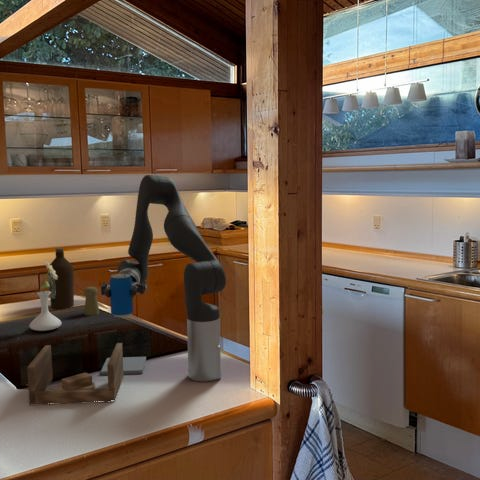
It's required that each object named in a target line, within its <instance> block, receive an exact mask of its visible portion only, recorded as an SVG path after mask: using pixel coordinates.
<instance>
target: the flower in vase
mask: <svg viewBox="0 0 480 480" xmlns="http://www.w3.org/2000/svg"><path fill="white" fill-rule="evenodd" d="M44 264H45V267H46V269H47V273H46V275H45V278H44V280H43V284H42V285H41V286H40V287H39V288H40V289H41V290H42V291H38V292H36V295H37V296H38V298H39V299H40V300H39V301H40V305H41V308H40V309H41V312H40V313H39V314H38V315H37V316H36V317H35V318H34V319H33V320H32V321H31V322H30V323H29V328H30V329H31V330H33V331H38V332H45V331H51V330H52V331H53V330H55V329H58V328H60V327H61V326H62V323H63V322H62V321H61V320H60V319H59V318H58V317H56V316H55V315H54V314H52V313H51V312H50V311H49V306H48V304H49V303H48V301H49V298H50V293H51V292H50V291H49V290H47V291H46V290H45V289H46V288H49V286H50V285H49V281H48V280H46V279H48V273H50V274H51V276H52V277H53V278H54V279H56V280H57V277H58V276H57V275H56V274H55V273H56V271H55V270H53V268H52V265H50V263H49V261H44Z"/></svg>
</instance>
